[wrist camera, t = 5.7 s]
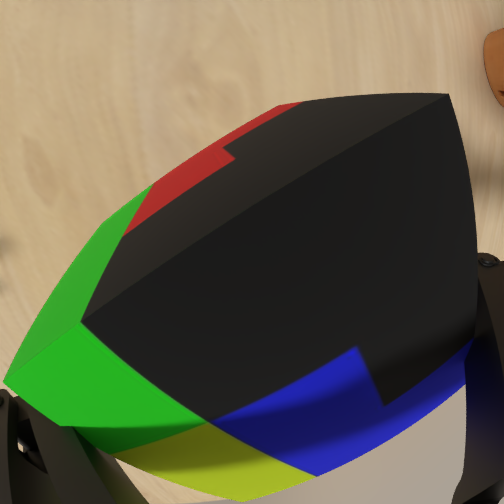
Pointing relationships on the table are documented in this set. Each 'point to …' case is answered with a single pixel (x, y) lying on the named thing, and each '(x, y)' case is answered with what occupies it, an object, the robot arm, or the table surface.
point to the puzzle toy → (270, 299)
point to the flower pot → (495, 62)
